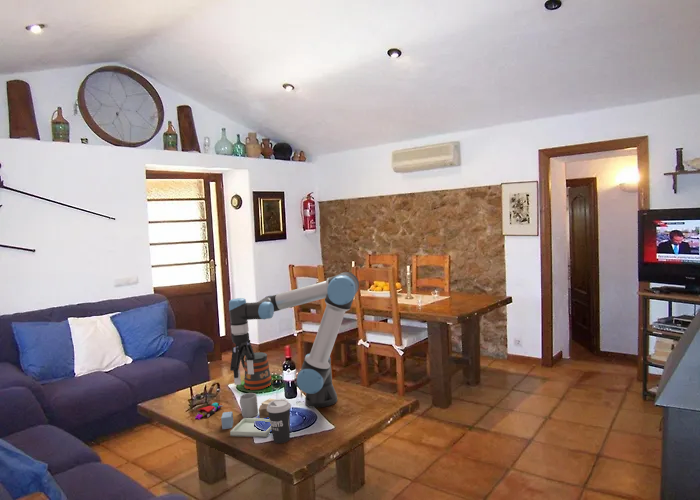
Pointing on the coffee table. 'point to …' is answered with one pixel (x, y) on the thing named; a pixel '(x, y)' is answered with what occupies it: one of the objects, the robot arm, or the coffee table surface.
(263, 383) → the beer stein
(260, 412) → the walnut block
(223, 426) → the blue painted block
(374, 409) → the coffee table surface
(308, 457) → the coffee table surface
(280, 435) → the coffee cup
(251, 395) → the cup
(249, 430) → the tray
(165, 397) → the coffee table surface
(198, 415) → the toy
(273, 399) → the beech block
